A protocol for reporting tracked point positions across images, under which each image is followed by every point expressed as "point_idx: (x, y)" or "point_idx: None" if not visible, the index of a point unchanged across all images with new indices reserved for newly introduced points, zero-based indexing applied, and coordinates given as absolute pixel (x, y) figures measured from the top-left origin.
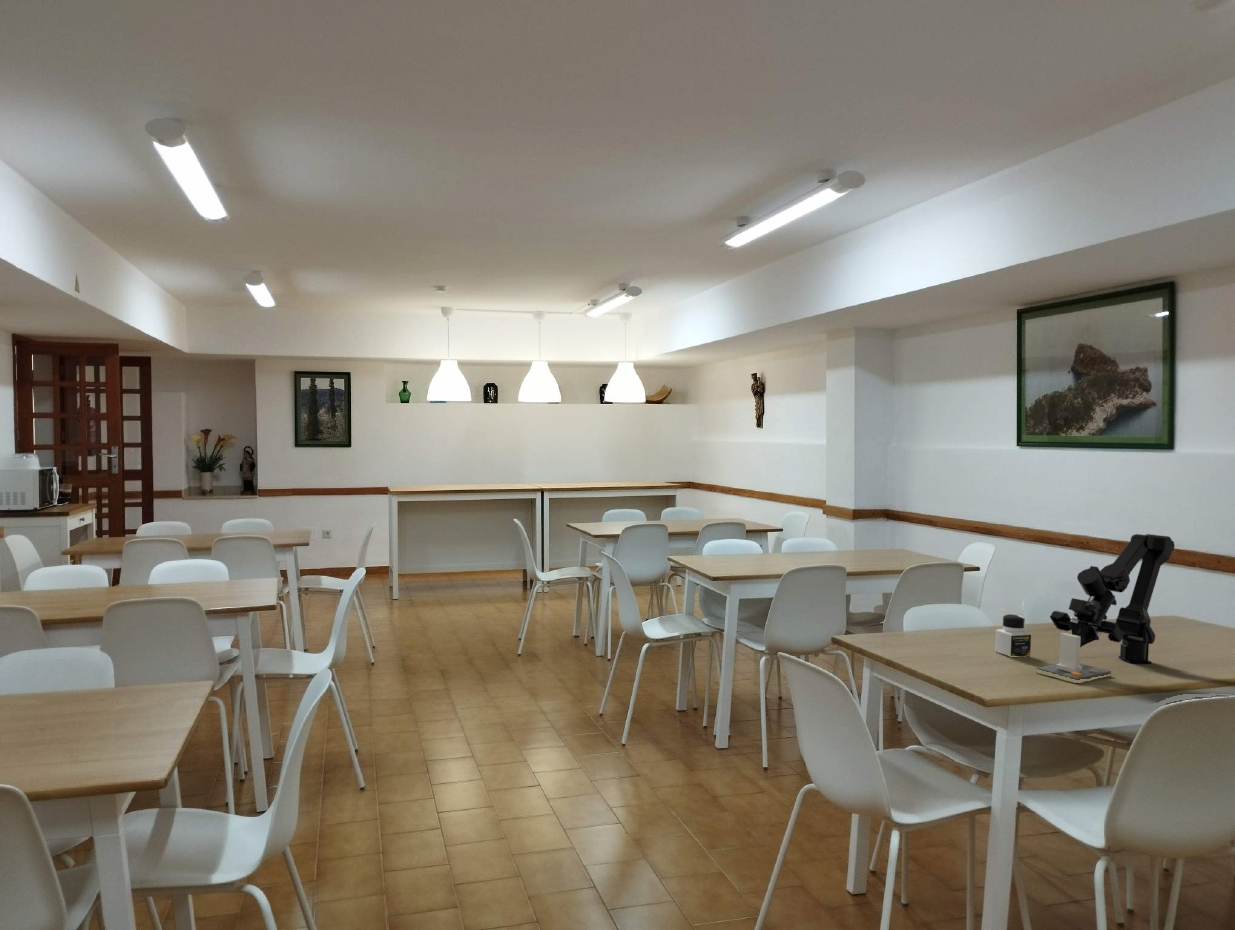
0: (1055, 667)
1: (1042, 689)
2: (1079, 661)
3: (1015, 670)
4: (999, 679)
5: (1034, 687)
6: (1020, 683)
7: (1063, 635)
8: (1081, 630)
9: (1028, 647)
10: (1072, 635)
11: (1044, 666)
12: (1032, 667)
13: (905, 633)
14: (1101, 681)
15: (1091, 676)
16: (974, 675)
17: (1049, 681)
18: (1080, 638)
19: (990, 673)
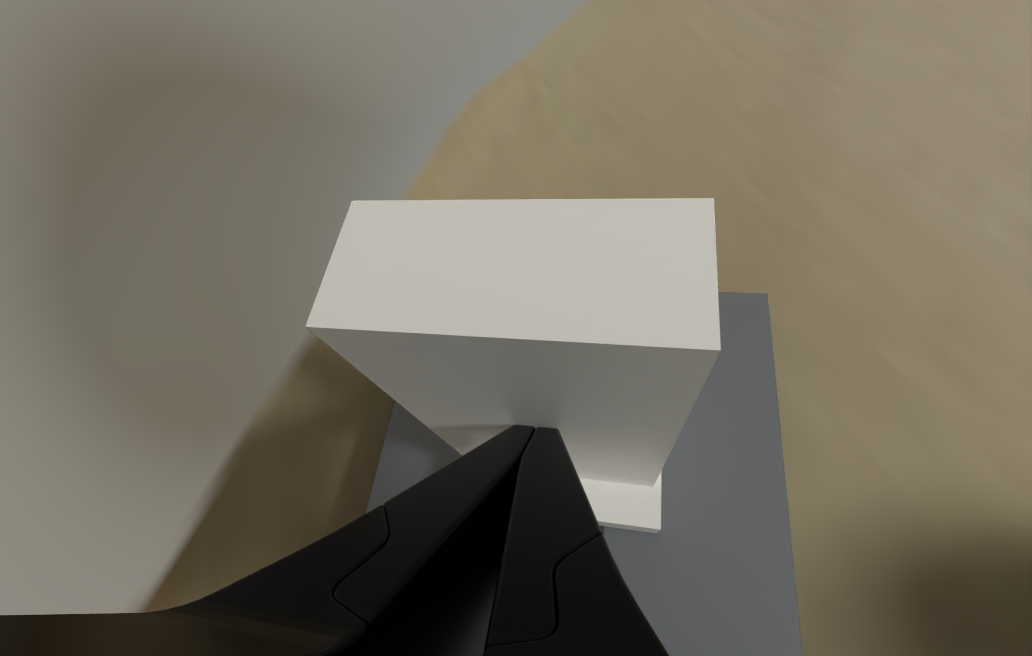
0: (696, 448)
1: (521, 89)
2: (460, 451)
3: (890, 258)
4: (758, 48)
5: (563, 84)
6: (646, 79)
7: (625, 217)
8: (292, 653)
9: None
10: (457, 264)
11: (771, 394)
12: (923, 462)
13: None
14: (339, 525)
15: (383, 458)
16: (885, 2)
17: None
18: (330, 343)
19: (888, 84)
